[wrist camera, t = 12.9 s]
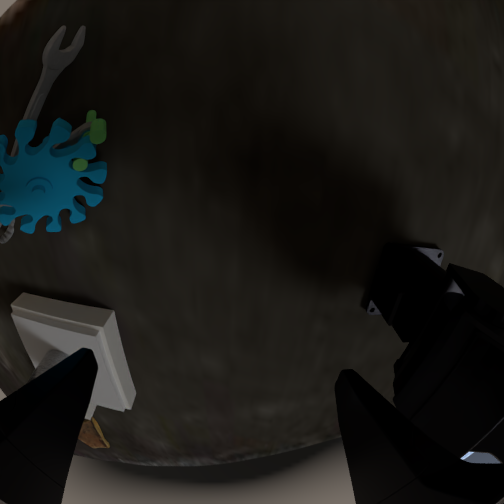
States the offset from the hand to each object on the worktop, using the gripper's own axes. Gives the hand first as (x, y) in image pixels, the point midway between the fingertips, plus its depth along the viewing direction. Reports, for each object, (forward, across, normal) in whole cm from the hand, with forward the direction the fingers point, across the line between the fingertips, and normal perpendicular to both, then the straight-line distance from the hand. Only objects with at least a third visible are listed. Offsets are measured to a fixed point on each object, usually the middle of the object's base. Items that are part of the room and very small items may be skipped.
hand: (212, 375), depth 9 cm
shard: (+13, +23, +34) cm, 43 cm away
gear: (+12, +12, -5) cm, 18 cm away
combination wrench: (+12, +17, -8) cm, 23 cm away
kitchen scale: (+12, +16, +14) cm, 25 cm away
